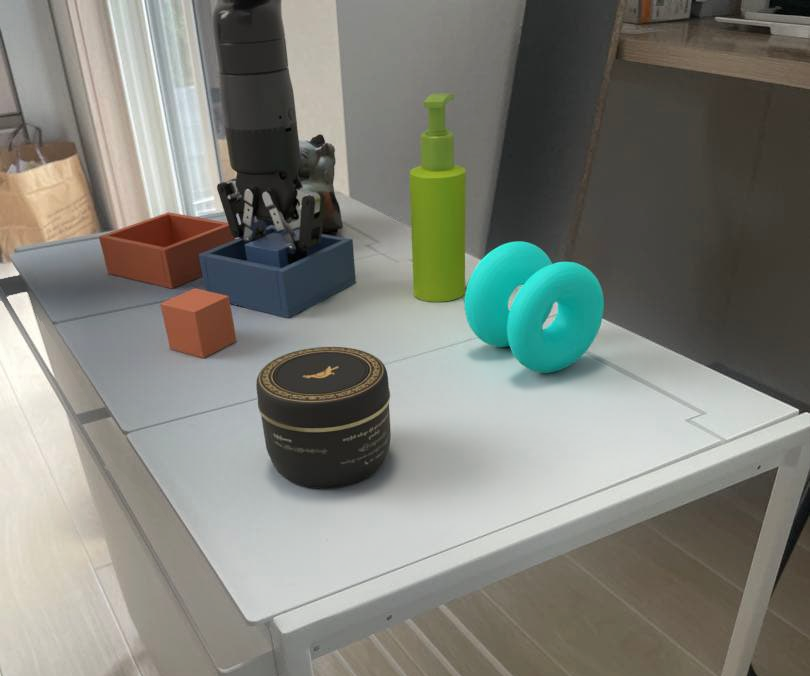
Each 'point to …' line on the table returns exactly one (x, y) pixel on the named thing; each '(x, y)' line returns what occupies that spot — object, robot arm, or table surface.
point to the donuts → (534, 306)
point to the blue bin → (279, 276)
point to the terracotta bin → (163, 248)
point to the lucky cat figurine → (320, 179)
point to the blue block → (268, 251)
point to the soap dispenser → (438, 211)
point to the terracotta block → (198, 322)
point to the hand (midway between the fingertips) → (280, 279)
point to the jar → (325, 415)
